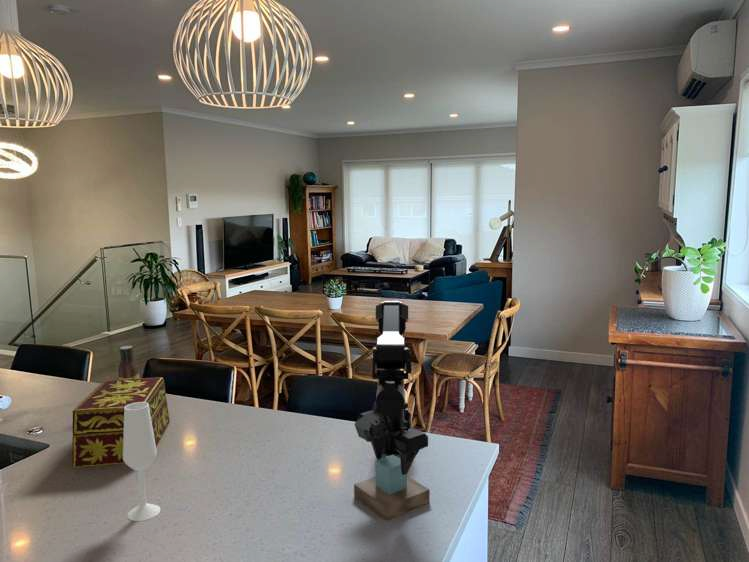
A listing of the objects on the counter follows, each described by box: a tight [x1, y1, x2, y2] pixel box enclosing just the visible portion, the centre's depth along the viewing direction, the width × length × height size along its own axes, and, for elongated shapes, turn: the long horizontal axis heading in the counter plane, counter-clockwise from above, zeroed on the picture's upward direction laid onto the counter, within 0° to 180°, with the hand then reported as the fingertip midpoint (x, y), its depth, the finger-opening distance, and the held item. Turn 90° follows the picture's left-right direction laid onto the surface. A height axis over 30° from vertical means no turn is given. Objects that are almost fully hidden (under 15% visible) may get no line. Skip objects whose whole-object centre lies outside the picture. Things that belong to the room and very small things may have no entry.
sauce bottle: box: [118, 345, 141, 380], centre depth 186 cm, size 7×6×20 cm
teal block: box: [374, 455, 408, 495], centre depth 125 cm, size 5×5×6 cm
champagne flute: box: [123, 402, 161, 522], centre depth 120 cm, size 7×7×24 cm
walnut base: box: [353, 475, 431, 521], centre depth 126 cm, size 12×12×3 cm
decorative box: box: [71, 376, 171, 469], centre depth 156 cm, size 28×19×15 cm
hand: (391, 466), depth 125 cm, fingers open, 9 cm apart
